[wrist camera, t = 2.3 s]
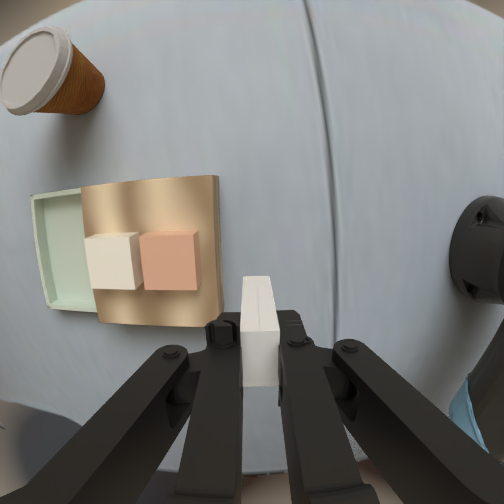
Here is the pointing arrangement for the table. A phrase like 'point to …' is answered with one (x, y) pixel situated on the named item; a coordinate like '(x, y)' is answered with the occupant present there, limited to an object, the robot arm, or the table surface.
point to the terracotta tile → (170, 260)
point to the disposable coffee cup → (49, 76)
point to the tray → (62, 250)
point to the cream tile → (114, 261)
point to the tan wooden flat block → (160, 219)
